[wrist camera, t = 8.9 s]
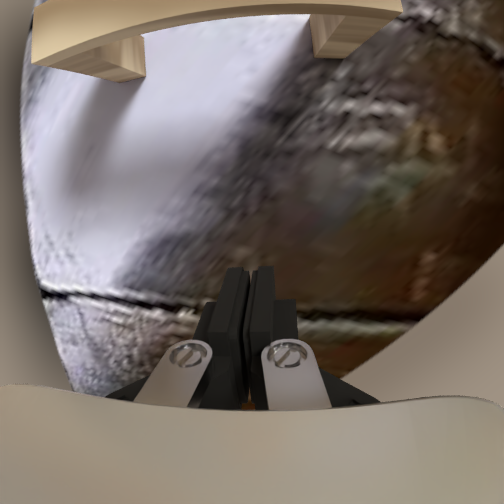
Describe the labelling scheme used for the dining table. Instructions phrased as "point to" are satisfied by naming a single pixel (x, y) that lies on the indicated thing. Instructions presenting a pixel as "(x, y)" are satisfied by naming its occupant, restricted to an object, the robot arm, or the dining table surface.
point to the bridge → (176, 14)
